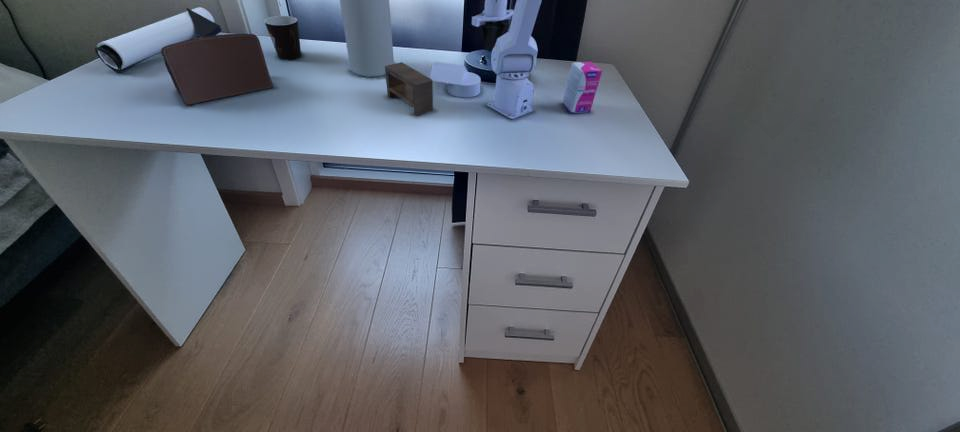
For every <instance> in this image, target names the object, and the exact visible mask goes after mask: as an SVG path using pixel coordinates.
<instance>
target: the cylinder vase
mask: <svg viewBox="0 0 960 432" xmlns="http://www.w3.org/2000/svg"><path fill="white" fill-rule="evenodd" d="M339 5H340V12H341V17H342V24H343V29H344V30H343V31H344V37H345V44H346V50H347V56H348V63H349V68H350V70H351V72H353V73H354V74H356V75H358V76H362V77H368V78H370V77H371V78H375V77H382V76H386V73H385V66H387V65H392V64H395V60H394V59H395V57H394V45H393V33H392V21H391V20H392V19H391V8H390V0H339Z"/></svg>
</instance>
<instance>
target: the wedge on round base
mask: <svg viewBox="0 0 960 432" xmlns="http://www.w3.org/2000/svg"><path fill="white" fill-rule="evenodd" d="M429 78H430V79H432V80H433V82H438V83H444V84H445V83H446V84H447V87H446V89H447V92H448V93H449V94H450V95H451V96H455V97H457V98H473V97H476V96H478V95H480V93H481V82H482V79H481V77H480V76H479V75H478V74H476V73H474V72H469V71H468V69H467V67H466V66H465V65H460V64H455V63H448V62H440V61H433V62H432V66H431V70H430V75H429Z"/></svg>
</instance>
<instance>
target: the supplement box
mask: <svg viewBox="0 0 960 432" xmlns="http://www.w3.org/2000/svg"><path fill="white" fill-rule="evenodd" d="M602 74H603V70H602V69H601V68H599V66H597V65H596V64H595V63H594V62H593V61H578V62H577V61H576V62H571V66H570V71H569V74H568V79H567V83H566V87H565V90H564V95H563V99H562V103H561V105H562V106H563V107H564V108H565V109H566V110H567V111H568V113H569V114H585V113H587V114H588V113H591V110H592V107H593V104H594V100H595V96H596V93H597V90H598V87H599V83H600V80H601V77H602Z"/></svg>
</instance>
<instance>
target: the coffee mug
mask: <svg viewBox="0 0 960 432" xmlns="http://www.w3.org/2000/svg"><path fill="white" fill-rule="evenodd" d="M263 22H264V25H265V26H266V29H267V32H268V34H269V37H270V40H271V42H272V44H273V47H274V50H275V52H276V55H277V58H278V59H280V60H282V61H295V60H297V59H300V58H301V57H302V50H301V41H300V40H301V39H300V32H299V31H300V30H299V23H298V18H296V17H294V16H290V15H275V16H270V17H267V18H265V19H264V20H263Z"/></svg>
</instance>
